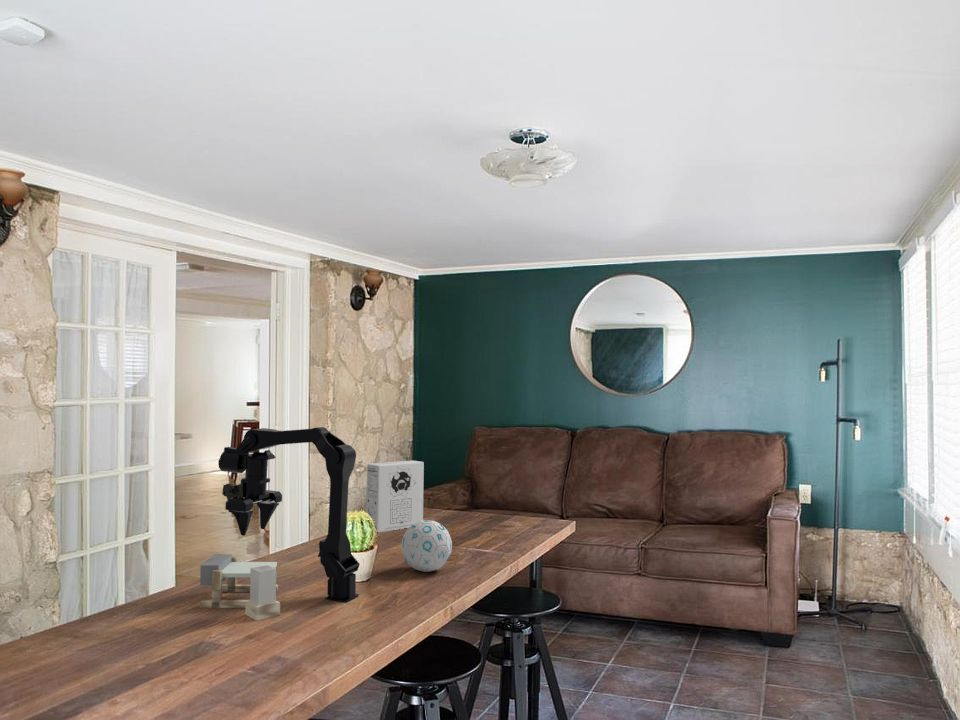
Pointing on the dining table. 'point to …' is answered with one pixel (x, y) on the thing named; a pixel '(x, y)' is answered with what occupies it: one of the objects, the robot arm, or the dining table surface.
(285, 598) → the dining table surface
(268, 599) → the grey tall block
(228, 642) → the dining table surface
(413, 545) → the puzzle ball
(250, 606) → the stone riser
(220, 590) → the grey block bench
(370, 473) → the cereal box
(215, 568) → the trapdoor
